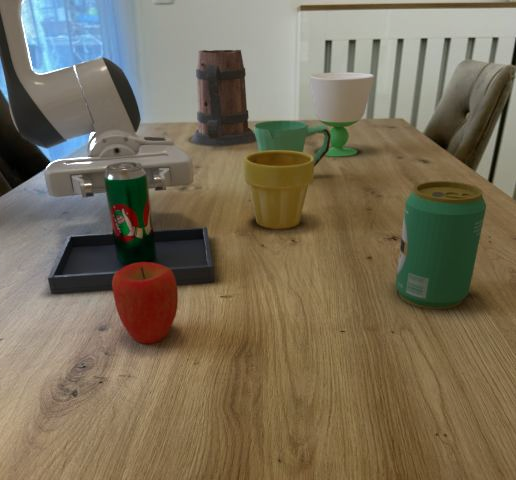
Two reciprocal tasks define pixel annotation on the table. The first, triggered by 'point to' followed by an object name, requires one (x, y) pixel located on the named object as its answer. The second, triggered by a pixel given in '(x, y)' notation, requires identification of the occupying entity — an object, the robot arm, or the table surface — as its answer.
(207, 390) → the table surface
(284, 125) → the mug
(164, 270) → the apple
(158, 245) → the tray
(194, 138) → the tankard
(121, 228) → the soda can
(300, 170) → the flower pot
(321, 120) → the cup
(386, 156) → the table surface
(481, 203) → the beverage can
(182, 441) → the table surface
